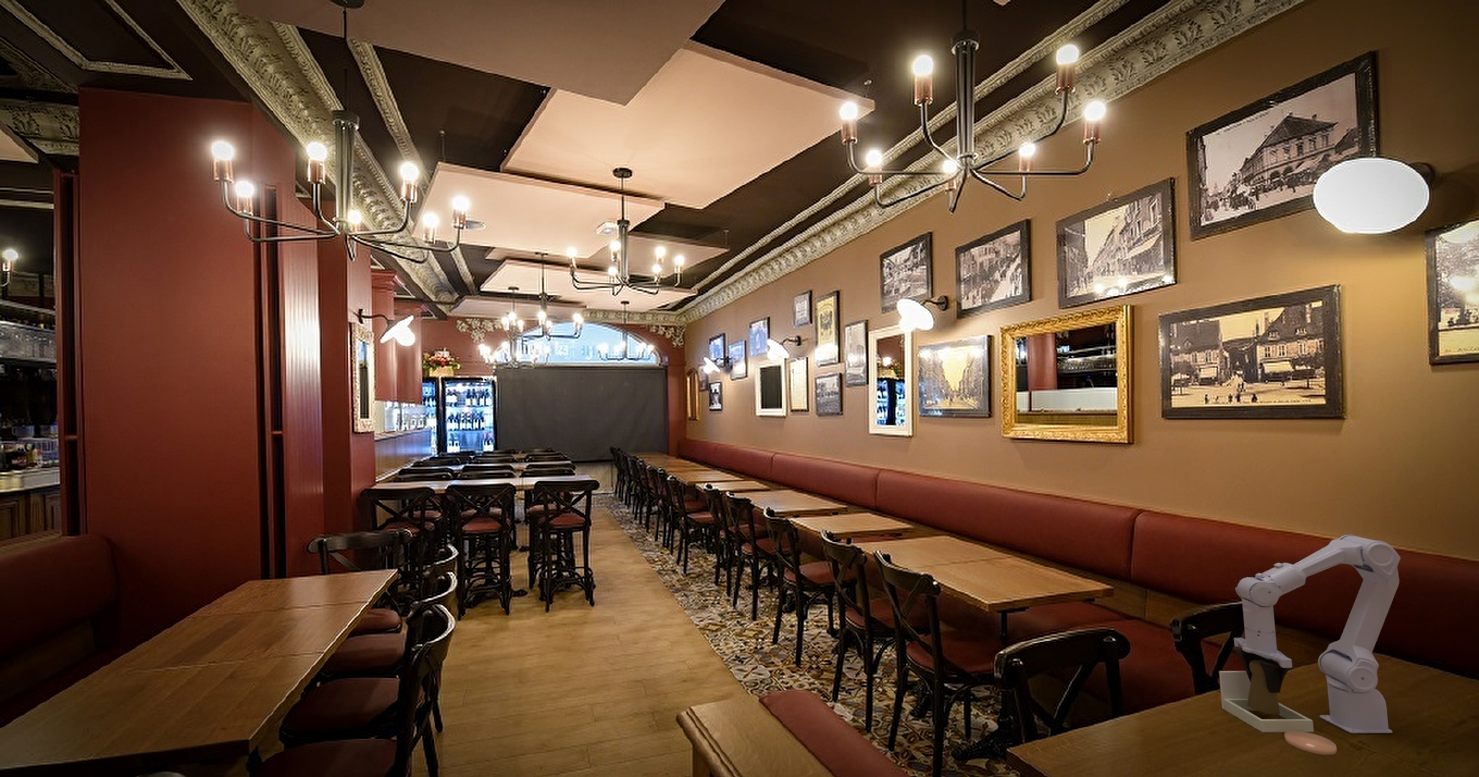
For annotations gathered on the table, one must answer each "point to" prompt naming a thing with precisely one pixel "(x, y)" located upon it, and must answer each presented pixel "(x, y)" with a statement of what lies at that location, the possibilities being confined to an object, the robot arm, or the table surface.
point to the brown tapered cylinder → (1261, 691)
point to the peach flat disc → (1310, 742)
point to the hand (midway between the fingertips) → (1264, 687)
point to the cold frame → (1235, 703)
